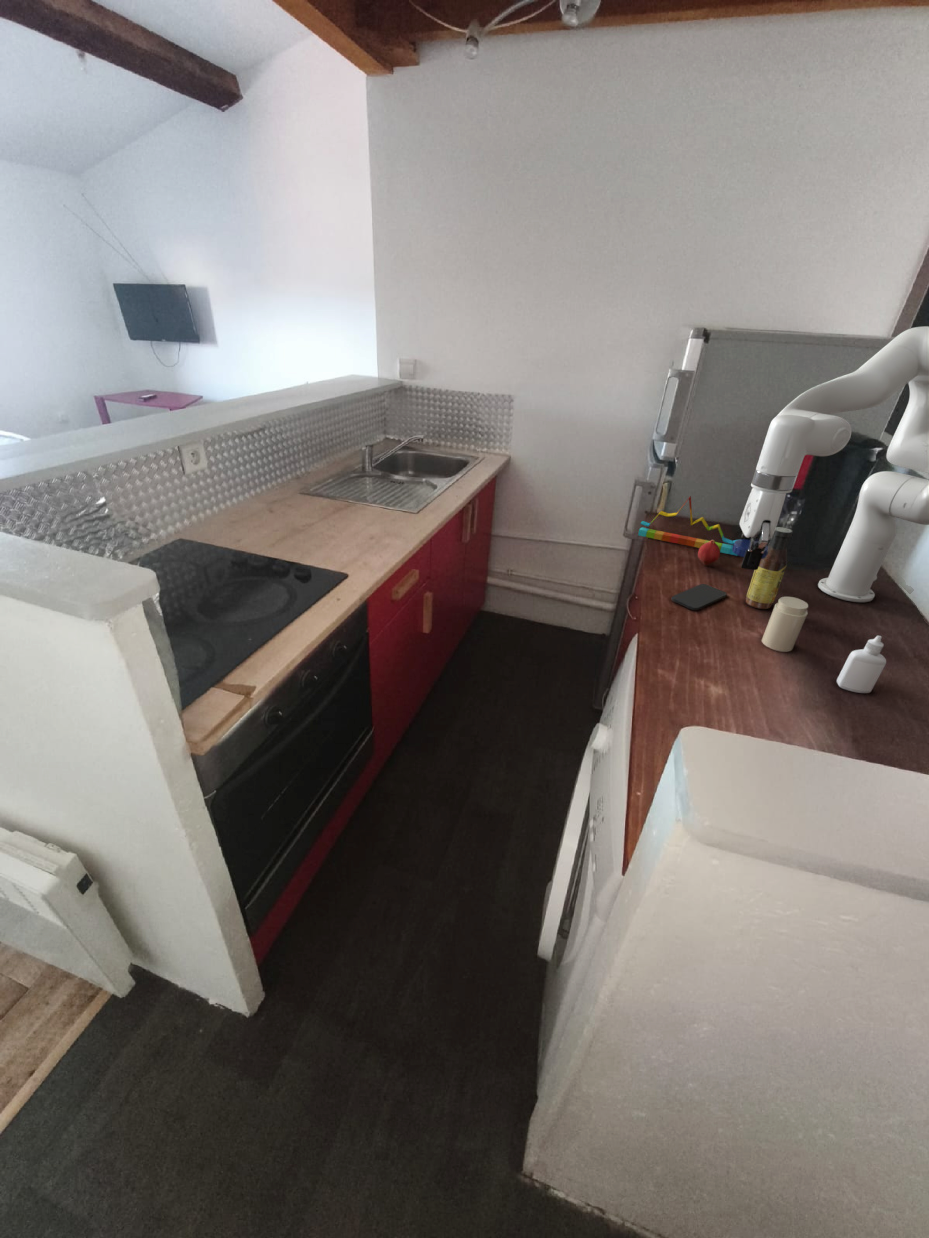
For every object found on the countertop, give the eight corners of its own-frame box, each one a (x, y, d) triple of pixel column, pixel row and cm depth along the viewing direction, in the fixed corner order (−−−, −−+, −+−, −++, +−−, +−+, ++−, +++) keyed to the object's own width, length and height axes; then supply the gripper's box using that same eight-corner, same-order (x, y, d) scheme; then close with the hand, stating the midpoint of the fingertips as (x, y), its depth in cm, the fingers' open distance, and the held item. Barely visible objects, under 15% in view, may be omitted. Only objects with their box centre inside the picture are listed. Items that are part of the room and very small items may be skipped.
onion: (692, 560, 152) (699, 535, 148) (713, 561, 152) (720, 536, 148) (697, 568, 148) (705, 542, 143) (718, 570, 147) (726, 544, 143)
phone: (729, 593, 132) (696, 609, 124) (728, 596, 133) (695, 612, 125) (703, 583, 137) (669, 597, 129) (702, 585, 138) (669, 600, 130)
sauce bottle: (774, 611, 126) (803, 536, 116) (747, 608, 127) (774, 533, 117) (766, 599, 132) (793, 526, 122) (741, 596, 133) (765, 524, 123)
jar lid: (748, 560, 107) (751, 552, 107) (725, 548, 113) (727, 540, 112) (773, 557, 109) (776, 549, 108) (749, 545, 115) (752, 538, 114)
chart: (738, 552, 159) (753, 505, 151) (737, 555, 156) (752, 508, 149) (640, 532, 172) (649, 488, 164) (637, 535, 169) (647, 490, 162)
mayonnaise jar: (772, 634, 117) (788, 593, 112) (798, 647, 112) (816, 605, 107) (755, 640, 115) (771, 599, 109) (781, 654, 110) (799, 612, 104)
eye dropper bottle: (866, 699, 97) (894, 647, 91) (833, 685, 101) (858, 634, 95) (872, 689, 100) (900, 638, 94) (839, 676, 103) (864, 626, 97)
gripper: (745, 469, 111) (722, 545, 120) (761, 490, 97) (733, 575, 106) (783, 472, 109) (757, 549, 119) (805, 495, 95) (773, 581, 104)
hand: (746, 561), depth 112 cm, fingers closed on jar lid, 6 cm apart
